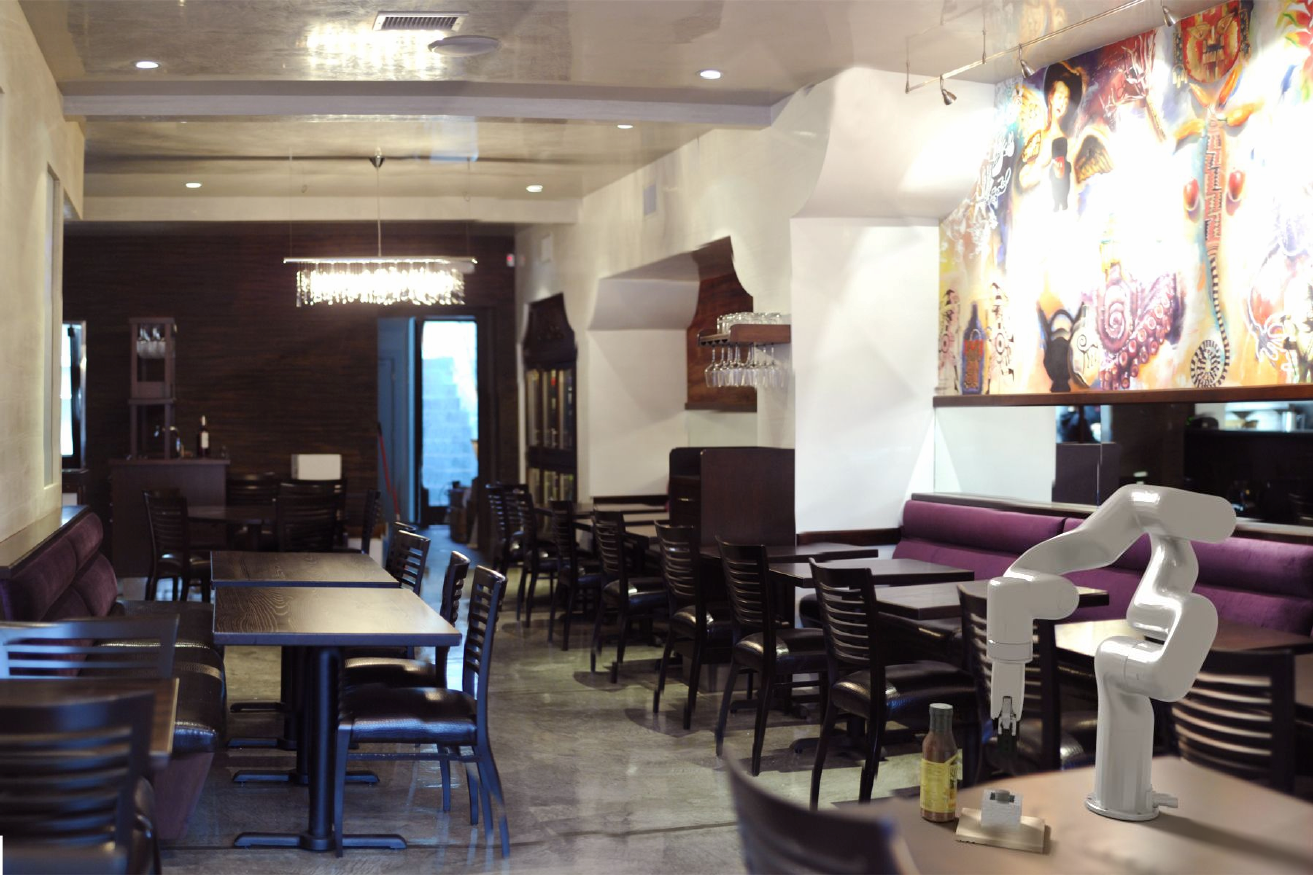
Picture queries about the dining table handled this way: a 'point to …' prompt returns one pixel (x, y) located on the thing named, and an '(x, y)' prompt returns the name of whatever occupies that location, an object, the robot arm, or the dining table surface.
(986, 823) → the collar
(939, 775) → the sauce bottle
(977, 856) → the dining table surface
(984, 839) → the post block
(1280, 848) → the dining table surface
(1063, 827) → the dining table surface
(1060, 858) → the dining table surface
